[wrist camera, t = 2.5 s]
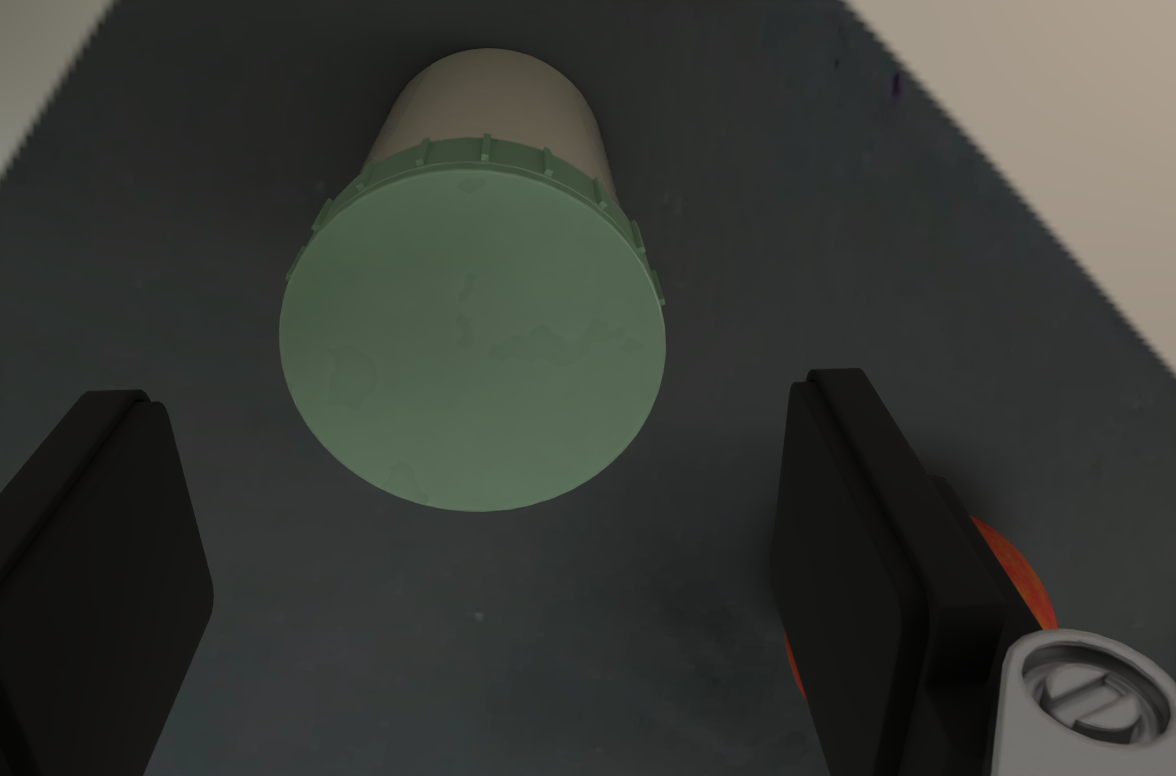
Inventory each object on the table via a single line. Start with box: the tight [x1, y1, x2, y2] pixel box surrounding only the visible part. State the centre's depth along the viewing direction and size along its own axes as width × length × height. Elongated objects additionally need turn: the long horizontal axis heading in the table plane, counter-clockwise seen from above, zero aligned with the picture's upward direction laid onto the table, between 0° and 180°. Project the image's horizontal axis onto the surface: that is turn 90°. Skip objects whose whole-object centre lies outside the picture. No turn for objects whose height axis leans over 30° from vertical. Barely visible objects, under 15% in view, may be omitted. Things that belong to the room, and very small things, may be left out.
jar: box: [357, 48, 621, 208], centre depth 18 cm, size 5×5×9 cm
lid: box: [279, 133, 666, 512], centre depth 15 cm, size 6×6×2 cm
